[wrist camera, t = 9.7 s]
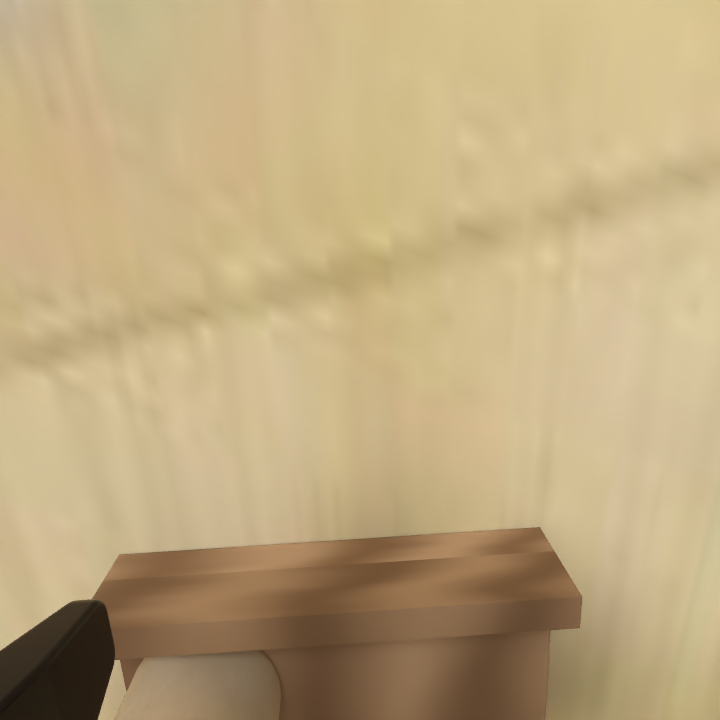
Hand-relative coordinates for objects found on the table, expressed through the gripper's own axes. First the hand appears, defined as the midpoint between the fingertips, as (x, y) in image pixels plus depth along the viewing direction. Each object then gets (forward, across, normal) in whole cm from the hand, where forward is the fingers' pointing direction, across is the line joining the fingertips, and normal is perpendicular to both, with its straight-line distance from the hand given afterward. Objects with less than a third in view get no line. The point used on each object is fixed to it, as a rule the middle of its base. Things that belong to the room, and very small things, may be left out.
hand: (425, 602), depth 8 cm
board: (+12, +2, +11) cm, 17 cm away
